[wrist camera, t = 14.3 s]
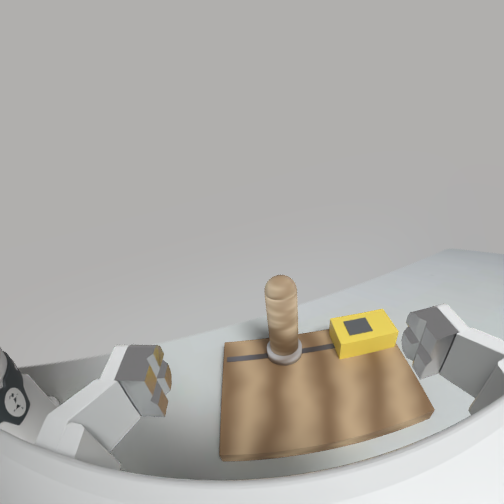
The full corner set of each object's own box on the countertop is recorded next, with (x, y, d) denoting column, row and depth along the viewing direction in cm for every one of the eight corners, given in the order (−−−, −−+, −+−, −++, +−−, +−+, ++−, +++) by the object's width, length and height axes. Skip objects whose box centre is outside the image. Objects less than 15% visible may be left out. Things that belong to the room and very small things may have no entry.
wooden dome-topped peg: (268, 367, 37) (259, 290, 31) (266, 343, 41) (258, 269, 36) (304, 363, 37) (303, 285, 31) (299, 339, 41) (296, 265, 36)
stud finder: (339, 359, 36) (341, 343, 35) (329, 333, 42) (330, 317, 40) (394, 346, 36) (398, 330, 35) (380, 323, 42) (382, 307, 40)
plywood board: (222, 461, 25) (219, 454, 24) (226, 351, 44) (224, 342, 43) (429, 418, 25) (434, 409, 24) (378, 328, 43) (380, 318, 42)
